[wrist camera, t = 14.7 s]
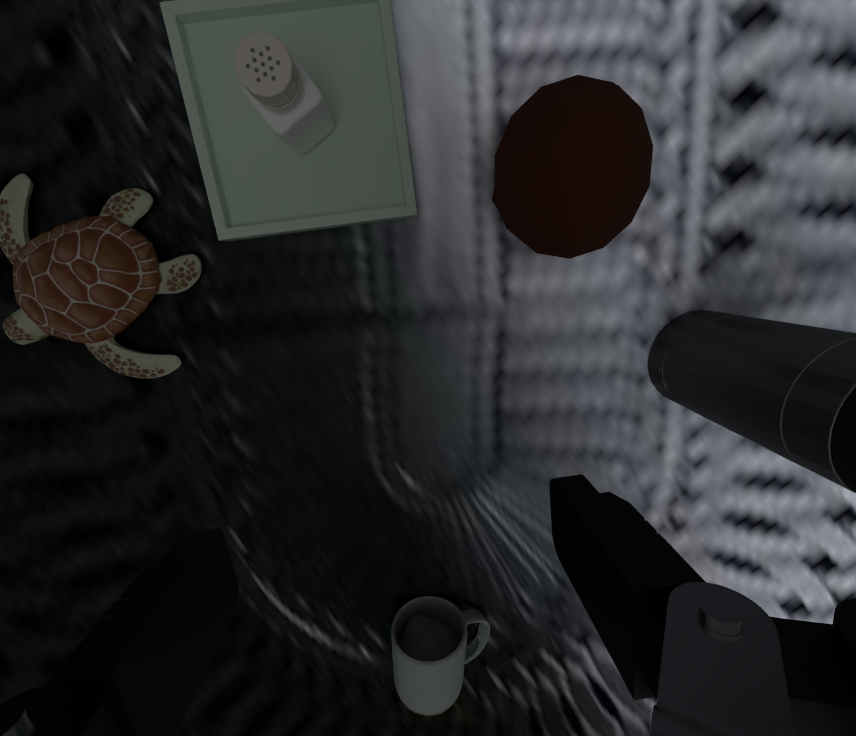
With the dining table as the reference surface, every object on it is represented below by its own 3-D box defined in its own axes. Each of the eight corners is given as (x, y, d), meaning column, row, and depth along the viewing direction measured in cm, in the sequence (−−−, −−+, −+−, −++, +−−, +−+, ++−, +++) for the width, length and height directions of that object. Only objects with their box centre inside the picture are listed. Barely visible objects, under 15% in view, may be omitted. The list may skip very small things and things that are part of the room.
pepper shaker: (339, 128, 32) (314, 73, 23) (300, 161, 32) (261, 120, 23) (305, 81, 31) (265, 4, 22) (265, 115, 32) (210, 54, 22)
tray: (387, -7, 31) (387, -23, 29) (416, 217, 35) (417, 214, 33) (173, 17, 30) (159, 2, 28) (228, 241, 34) (218, 240, 32)
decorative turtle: (-53, 242, 33) (-130, 238, 28) (106, 125, 32) (53, 100, 27) (107, 416, 38) (64, 438, 33) (252, 319, 36) (230, 328, 31)
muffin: (513, 86, 33) (561, 11, 23) (630, 146, 34) (719, 100, 25) (455, 229, 35) (476, 216, 25) (567, 279, 37) (626, 284, 27)
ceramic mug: (394, 657, 46) (394, 732, 39) (391, 597, 44) (390, 664, 37) (486, 648, 47) (504, 720, 40) (487, 589, 45) (506, 653, 37)
